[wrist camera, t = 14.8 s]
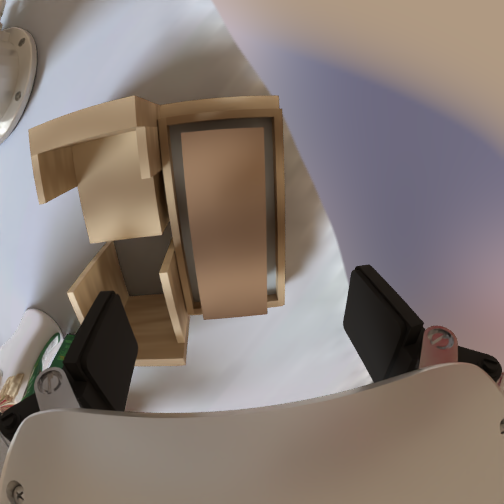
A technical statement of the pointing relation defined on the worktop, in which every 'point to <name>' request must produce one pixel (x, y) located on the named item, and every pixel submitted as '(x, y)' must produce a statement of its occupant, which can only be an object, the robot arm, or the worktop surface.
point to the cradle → (152, 201)
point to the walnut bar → (227, 219)
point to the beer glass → (27, 356)
